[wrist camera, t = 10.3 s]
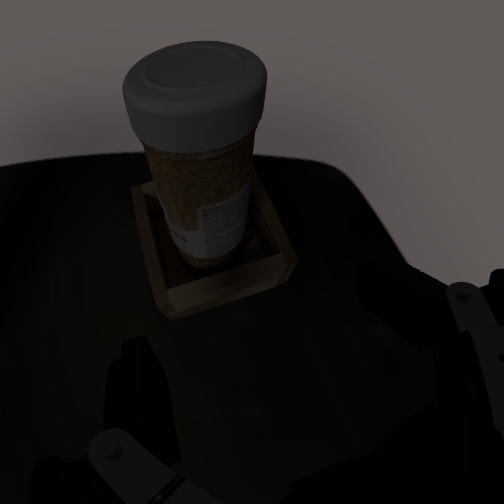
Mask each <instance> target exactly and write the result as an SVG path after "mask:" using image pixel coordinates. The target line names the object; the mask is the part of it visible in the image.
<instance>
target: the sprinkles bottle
mask: <svg viewBox="0 0 504 504" xmlns="http://www.w3.org/2000/svg"><path fill="white" fill-rule="evenodd" d="M266 84H267V71H266V68H265V65H264V64H263V62H262V61H261V60H260V59H259V57H257V56H256V55H255V54H254V53H252V52H251V51H249V50H247V49H245V48H242V47H240V46H237V45H234V44H229V43H225V42H218V41H193V42H186V43H180V44H175V45H171V46H168V47H165V48H162V49H160V50H158V51H155V52H153V53H151V54H149V55H147V56H145V57H144V58H143V59H141V60H140V61H138V63H136V64H135V65H134V66H133V67H132V68H131V69H130V70H129V72H128V73H127V75H126V77H125V79H124V82H123V87H122V88H123V96H124V101H125V105H126V109H127V112H128V116H129V119H130V122H131V126H132V129H133V131H134V132H135V134H136V135H137V137H138V138H139V139H140V141H141V142H142V144H143V146H144V150H145V153H146V156H147V161H148V163H149V167H150V171H151V173H152V176H153V179H154V185H155V189H156V192H157V196H158V198H159V202H160V205H161V208H162V211H163V214H164V217H165V219H166V222H167V225H168V228H169V231H170V234H171V236H172V239H173V241H174V242H175V245H176V250H177V255H178V258H179V260H180V262H181V263H182V264H183V266H184V267H185V268H186V269H187V270H189V271H190V272H191V273H193V274H195V275H198V276H201V277H208V276H211V275H215V274H218V273H221V272H224V271H227V270H230V269H233V268H234V267H235V266H236V265H237V264H238V262H239V261H240V259H241V257H242V253H243V234H244V231H245V225H246V218H247V210H248V202H249V194H250V185H251V177H252V156H253V148H254V137H255V130H256V128H257V127H258V123H259V121H260V119H261V117H262V113H263V108H264V101H265V92H266Z"/></svg>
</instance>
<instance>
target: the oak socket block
mask: <svg viewBox="0 0 504 504" xmlns="http://www.w3.org/2000/svg"><path fill="white" fill-rule="evenodd" d="M131 192H132V198H133V204H134V209H135V215H136V220H137V225H138V230H139V235H140V240H141V245H142V249H143V254H144V258H145V263H146V267H147V271H148V275H149V279H150V283H151V287H152V291H153V295H154V299H155V302H156V306H157V308H158V309H159V310H160V311H161V312H162V313H163V314H164V315H165V316H167V317H168V318H169V319H170V320H171V321H173V320H176V319H180V318H183V317H186V316H189V315H192V314H195V313H198V312H201V311H205V310H208V309H211V308H214V307H217V306H220V305H223V304H226V303H229V302H232V301H235V300H238V299H241V298H243V297H246V296H249V295H252V294H255V293H258V292H261V291H264V290H267V289H269V288H272V287H275V286H278V285H281V284H283V283H286V281H287V279H288V278H289V276H290V274H291V273H292V271H293V269H294V268H295V266H296V264H297V263H298V261H299V260H298V258H297V256H296V253H295V251H294V249H293V247H292V245H291V243H290V241H289V238H288V236H287V234H286V232H285V230H284V228H283V226H282V224H281V221H280V219H279V217H278V215H277V213H276V211H275V209H274V207H273V205H272V203H271V201H270V199H269V197H268V194H267V192H266V190H265V188H264V186H263V184H262V182H261V180H260V178H259V176H258V174H257V172H256V170H255V168H254V166H253V164H252V177H251V185H250V194H249V202H248V210H247V218H246V225H245V231H244V234H243V253H242V257H241V259H240V261H239V262H238V264H237V265H236V266H235V267H234V268H233V269H230V270H227V271H224V272H221V273H218V274H215V275H211V276H208V277H201V276H198V275H195V274H193V273H191V272H190V271H189V270H187V269H186V268H185V267H184V266H183V264H182V263H181V262H180V260H179V258H178V255H177V250H176V245H175V242H174V241H173V239H172V236H171V234H170V231H169V228H168V225H167V222H166V219H165V217H164V214H163V211H162V208H161V205H160V202H159V198H158V196H157V192H156V189H155V185H154V181H150V182H147V183H144V184H141V185H138V186H135V187H132V188H131Z"/></svg>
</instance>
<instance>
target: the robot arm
mask: <svg viewBox="0 0 504 504" xmlns="http://www.w3.org/2000/svg"><path fill="white" fill-rule="evenodd" d="M357 273H358V295H359V299H360V301H361V303H362V305H363V306H364V307H365V308H366V309H367V310H369V311H370V312H371V313H373V314H374V315H375V316H376V317H378V318H379V319H380V320H381V321H383V322H384V323H385V324H386V325H388V326H389V327H390V328H391V329H393V330H394V331H395V332H396V333H398V334H399V335H400V336H401V337H402V338H404V339H405V340H406V341H407V342H409V343H410V344H411V345H412V346H414V347H415V348H416V349H417V350H418V351H420V352H422V351H424V350H425V349H426V348H428V347H429V346H430V345H432V346H433V347H434V350H433V358H434V364H435V370H436V377H437V384H438V392H439V397H438V403H437V404H436V403H435V402H434V401H433V400H432V401H431V402H429V403H428V404H427V405H426V406H424V407H423V408H422V409H420V410H419V411H418V412H416V413H415V414H414V415H412V416H411V417H410V418H408V419H407V420H406V421H404V422H403V423H402V425H401V426H400V427H399V428H398V429H397V430H396V431H395V432H394V434H393V435H392V436H391V437H390V438H389V439H388V440H387V441H386V442H385V443H384V444H383V445H382V446H381V447H380V448H379V449H378V450H377V451H376V452H374V453H371V454H369V455H366V456H363V457H359V458H356V459H353V460H350V461H346V462H343V463H339V464H336V465H332V466H329V467H327V468H325V469H323V470H321V471H319V472H317V473H314V474H312V475H310V476H308V477H306V478H303V479H301V480H299V481H296V482H294V483H291V484H289V487H290V489H291V491H292V493H290V494H289V495H287V496H286V497H284V498H283V499H282V500H281V501H280V502H278V503H277V504H504V269H496V270H494V271H493V272H491V275H490V280H489V284H488V285H486V286H483V287H480V288H478V287H476V286H475V285H473V284H470V283H466V282H456V283H453V284H451V285H449V286H447V285H446V284H444V283H442V282H440V281H438V280H437V279H435V278H433V277H431V276H429V275H427V274H426V273H424V272H421V271H420V270H418V269H416V268H413V266H411V265H409V264H407V263H405V262H403V261H400V260H395V259H391V258H389V257H387V256H386V255H384V254H382V253H380V252H377V251H374V252H372V253H370V254H367V255H365V256H363V257H360V258H359V259H358V261H357ZM180 461H181V456H180V451H179V446H178V441H177V436H176V430H175V425H174V419H173V413H172V406H171V400H170V393H169V386H168V381H167V377H166V375H165V372H164V370H163V368H162V366H161V364H160V362H159V361H158V359H157V357H156V355H155V353H154V352H153V350H152V348H151V346H150V344H149V342H148V340H147V339H146V337H145V336H139V337H136V338H133V339H130V340H126V341H123V344H122V354H121V358H118V359H114V361H113V363H112V364H111V366H110V368H109V370H108V374H107V385H106V395H105V405H104V420H103V431H102V432H101V433H99V434H98V435H97V436H96V437H95V438H94V439H93V440H92V442H91V444H90V446H89V450H88V454H87V455H86V456H84V457H81V458H79V459H77V460H75V461H72V462H70V463H68V464H66V463H64V462H63V461H62V460H61V459H59V458H58V457H55V456H46V457H44V458H42V459H40V460H39V461H38V462H37V463H36V464H35V466H34V468H33V470H32V474H31V488H30V504H224V503H222V502H221V501H219V500H217V499H216V498H214V497H213V496H211V495H209V494H208V493H206V492H205V491H203V490H202V489H200V488H199V487H197V486H196V485H194V484H193V483H191V482H190V481H188V480H187V479H185V478H184V477H182V476H180V475H178V474H177V473H175V472H174V471H173V470H172V467H171V463H175V462H180Z"/></svg>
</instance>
